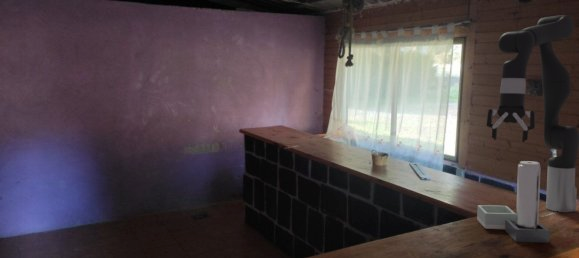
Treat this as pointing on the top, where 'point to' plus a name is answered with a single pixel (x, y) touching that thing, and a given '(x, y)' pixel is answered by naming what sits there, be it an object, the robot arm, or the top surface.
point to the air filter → (528, 195)
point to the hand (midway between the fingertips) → (509, 140)
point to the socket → (527, 233)
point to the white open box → (494, 216)
